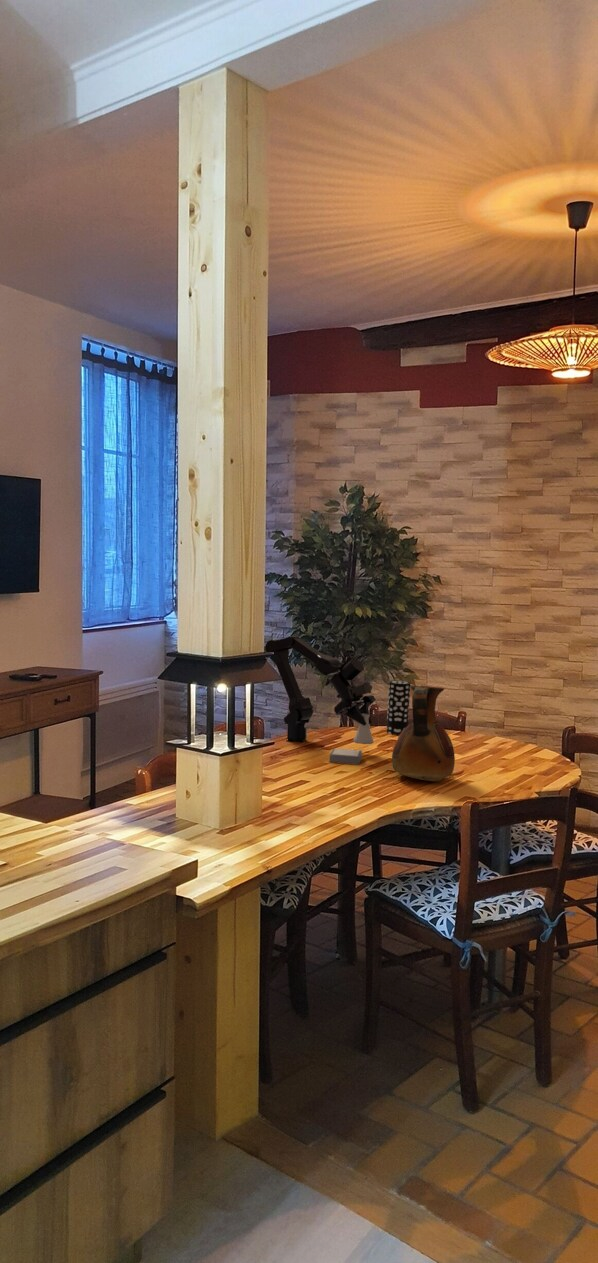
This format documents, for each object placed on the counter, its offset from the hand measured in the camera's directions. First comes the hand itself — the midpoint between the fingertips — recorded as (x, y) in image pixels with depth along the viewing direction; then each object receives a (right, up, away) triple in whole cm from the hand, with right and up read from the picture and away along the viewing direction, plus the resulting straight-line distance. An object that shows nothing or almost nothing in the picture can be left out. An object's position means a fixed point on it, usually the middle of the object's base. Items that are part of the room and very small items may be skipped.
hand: (368, 724), depth 322 cm
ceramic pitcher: (+15, -15, -29) cm, 36 cm away
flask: (-2, -7, +2) cm, 7 cm away
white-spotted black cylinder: (+15, -8, +42) cm, 45 cm away
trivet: (-8, -11, -8) cm, 16 cm away
